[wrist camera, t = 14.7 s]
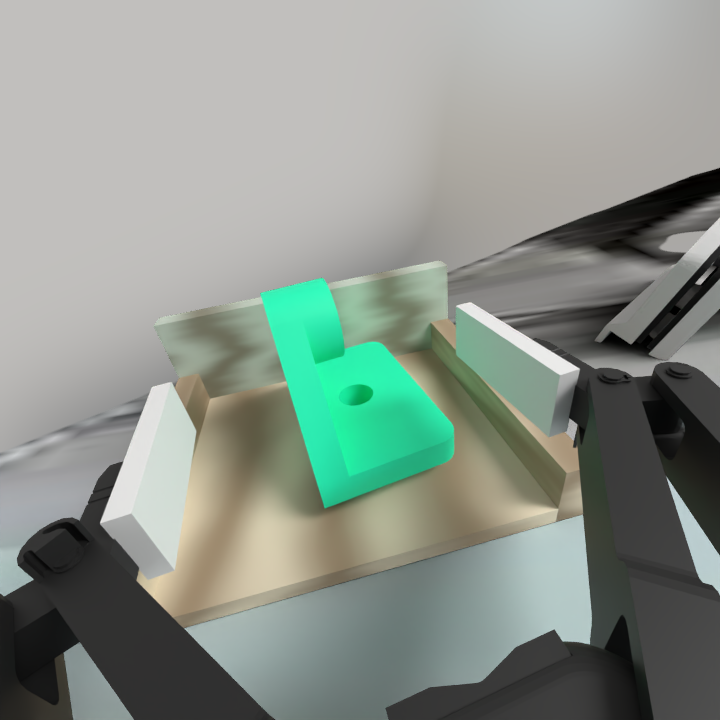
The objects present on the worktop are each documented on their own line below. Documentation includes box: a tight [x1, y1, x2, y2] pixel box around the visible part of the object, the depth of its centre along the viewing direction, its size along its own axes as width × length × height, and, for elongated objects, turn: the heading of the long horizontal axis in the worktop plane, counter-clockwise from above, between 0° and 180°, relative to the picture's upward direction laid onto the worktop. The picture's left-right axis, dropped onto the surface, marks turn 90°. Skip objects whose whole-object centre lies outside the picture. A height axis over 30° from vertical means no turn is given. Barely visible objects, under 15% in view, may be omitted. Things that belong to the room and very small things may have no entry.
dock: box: [136, 261, 583, 628], centre depth 22 cm, size 22×18×8 cm
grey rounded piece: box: [595, 218, 720, 360], centre depth 29 cm, size 17×5×10 cm, turn 130°
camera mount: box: [260, 278, 454, 508], centre depth 21 cm, size 12×8×10 cm, turn 19°
